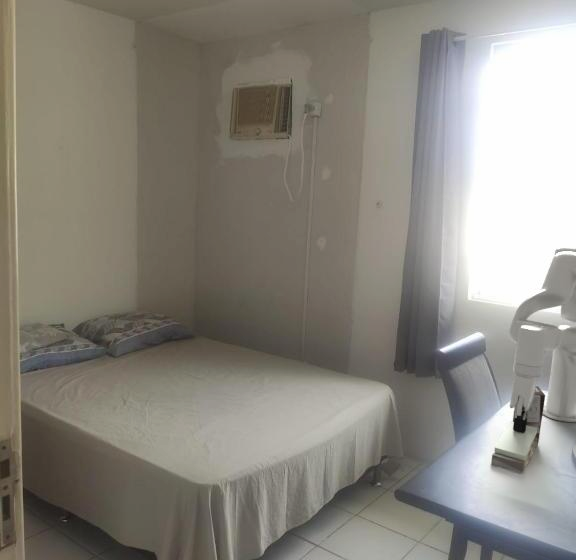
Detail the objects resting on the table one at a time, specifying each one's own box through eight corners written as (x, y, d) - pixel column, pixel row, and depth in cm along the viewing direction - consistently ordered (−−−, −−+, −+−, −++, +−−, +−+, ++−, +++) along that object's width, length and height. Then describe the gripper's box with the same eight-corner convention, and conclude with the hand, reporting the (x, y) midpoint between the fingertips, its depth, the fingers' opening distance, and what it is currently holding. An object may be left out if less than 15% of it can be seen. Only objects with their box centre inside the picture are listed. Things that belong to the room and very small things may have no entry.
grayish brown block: (505, 443, 169) (506, 433, 169) (534, 451, 165) (535, 441, 164) (490, 465, 154) (492, 454, 153) (521, 474, 150) (523, 463, 149)
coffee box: (538, 447, 168) (546, 395, 165) (516, 444, 169) (522, 392, 167) (532, 435, 177) (538, 385, 174) (510, 432, 178) (516, 383, 175)
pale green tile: (508, 425, 168) (508, 420, 168) (536, 432, 164) (537, 428, 164) (494, 452, 156) (494, 447, 155) (525, 461, 151) (525, 456, 151)
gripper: (519, 361, 168) (511, 420, 171) (508, 372, 156) (499, 435, 158) (546, 366, 164) (537, 426, 167) (537, 378, 152) (528, 442, 154)
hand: (519, 430), depth 162 cm, fingers closed
